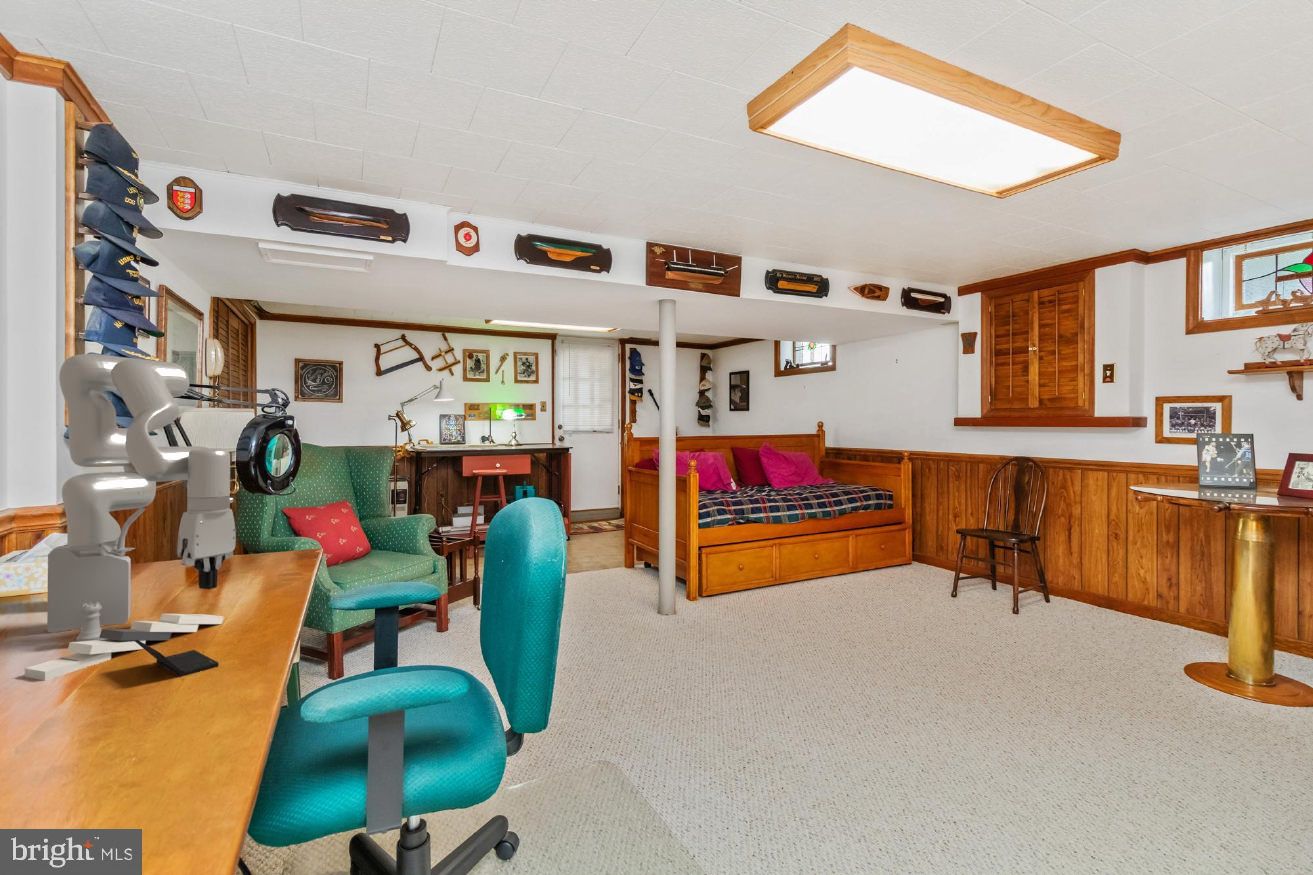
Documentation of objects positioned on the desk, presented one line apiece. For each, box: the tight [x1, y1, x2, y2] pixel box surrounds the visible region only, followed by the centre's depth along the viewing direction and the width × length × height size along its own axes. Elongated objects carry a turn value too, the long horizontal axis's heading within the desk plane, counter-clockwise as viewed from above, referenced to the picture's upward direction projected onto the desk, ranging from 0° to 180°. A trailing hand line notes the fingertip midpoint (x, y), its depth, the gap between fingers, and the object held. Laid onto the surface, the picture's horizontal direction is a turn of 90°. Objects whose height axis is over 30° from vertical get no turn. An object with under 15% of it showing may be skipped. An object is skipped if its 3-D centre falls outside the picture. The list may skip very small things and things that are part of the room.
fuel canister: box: [46, 507, 146, 634], centre depth 133 cm, size 15×5×25 cm, turn 127°
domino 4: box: [130, 620, 200, 633], centre depth 125 cm, size 2×5×10 cm
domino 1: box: [24, 652, 112, 681], centre depth 109 cm, size 2×5×10 cm
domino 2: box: [66, 639, 147, 654], centre depth 115 cm, size 2×5×10 cm
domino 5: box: [158, 613, 225, 625], centre depth 130 cm, size 2×5×10 cm
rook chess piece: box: [75, 602, 104, 642], centre depth 121 cm, size 4×4×8 cm
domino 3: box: [99, 628, 173, 641], centre depth 120 cm, size 2×5×10 cm
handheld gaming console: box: [135, 640, 220, 678], centre depth 110 cm, size 12×7×10 cm
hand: (207, 587), depth 133 cm, fingers closed
